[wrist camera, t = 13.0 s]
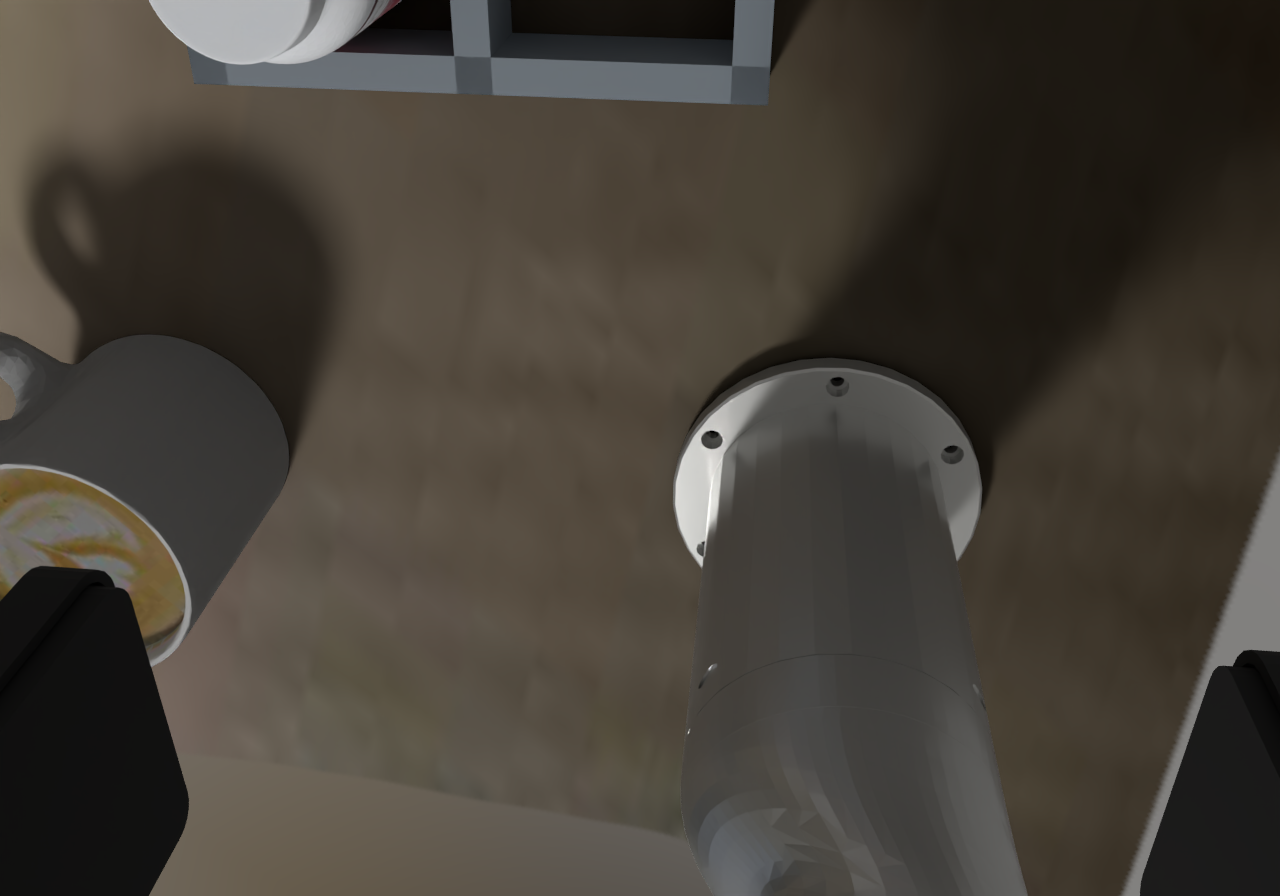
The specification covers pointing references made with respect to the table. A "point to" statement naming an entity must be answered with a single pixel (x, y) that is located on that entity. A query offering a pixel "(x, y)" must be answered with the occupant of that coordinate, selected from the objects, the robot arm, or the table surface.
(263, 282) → the table surface
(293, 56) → the pill bottle
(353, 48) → the compartment rack
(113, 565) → the coffee mug
